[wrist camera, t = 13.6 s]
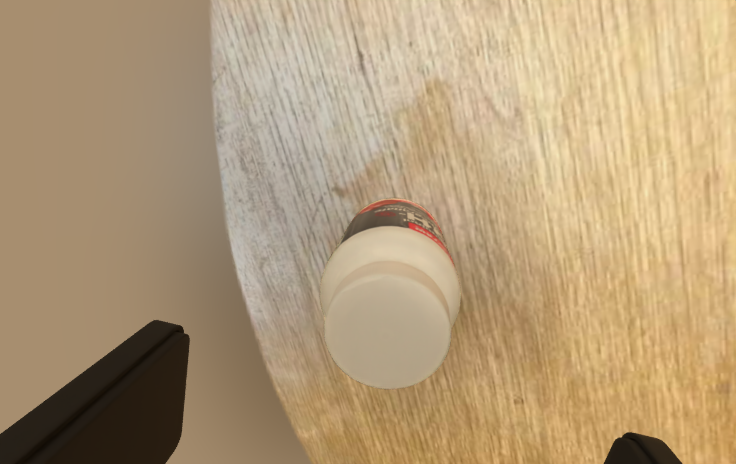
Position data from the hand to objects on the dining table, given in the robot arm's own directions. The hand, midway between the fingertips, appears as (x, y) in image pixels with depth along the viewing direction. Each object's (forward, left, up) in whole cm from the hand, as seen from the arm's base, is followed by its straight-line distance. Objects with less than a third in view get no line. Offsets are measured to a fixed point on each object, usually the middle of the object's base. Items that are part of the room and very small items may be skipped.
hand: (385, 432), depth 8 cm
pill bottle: (0, 0, -14) cm, 14 cm away
